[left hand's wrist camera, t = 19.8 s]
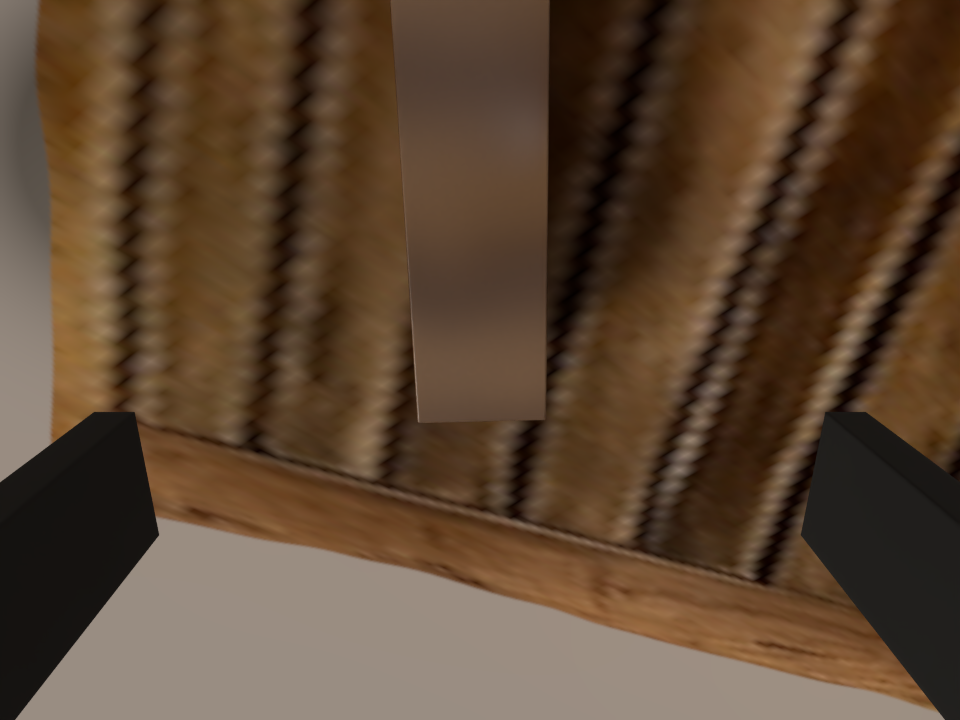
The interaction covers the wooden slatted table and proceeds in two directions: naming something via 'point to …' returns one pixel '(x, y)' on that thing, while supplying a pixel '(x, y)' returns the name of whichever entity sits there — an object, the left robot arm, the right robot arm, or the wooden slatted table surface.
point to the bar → (475, 202)
